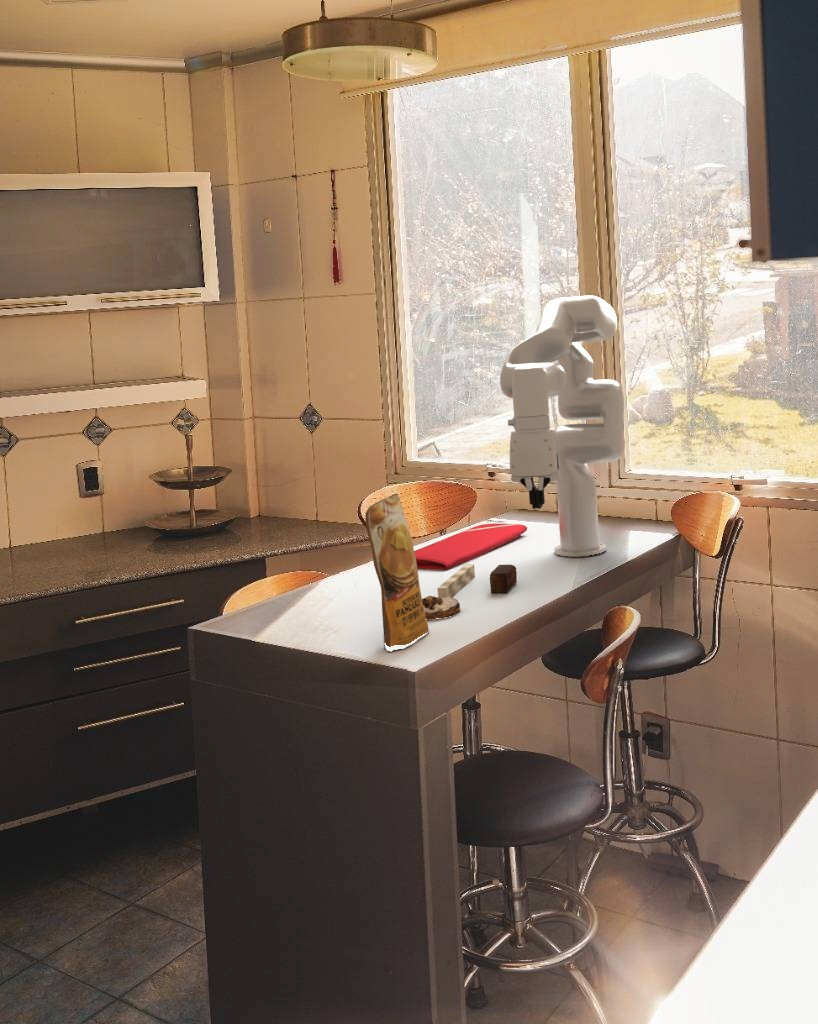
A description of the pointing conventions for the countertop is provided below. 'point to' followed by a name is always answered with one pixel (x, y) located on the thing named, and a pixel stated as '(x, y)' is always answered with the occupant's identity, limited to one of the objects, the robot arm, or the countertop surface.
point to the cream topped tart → (440, 607)
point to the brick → (503, 578)
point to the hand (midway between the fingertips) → (537, 507)
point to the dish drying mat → (466, 545)
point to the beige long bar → (457, 581)
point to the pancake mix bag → (396, 572)
